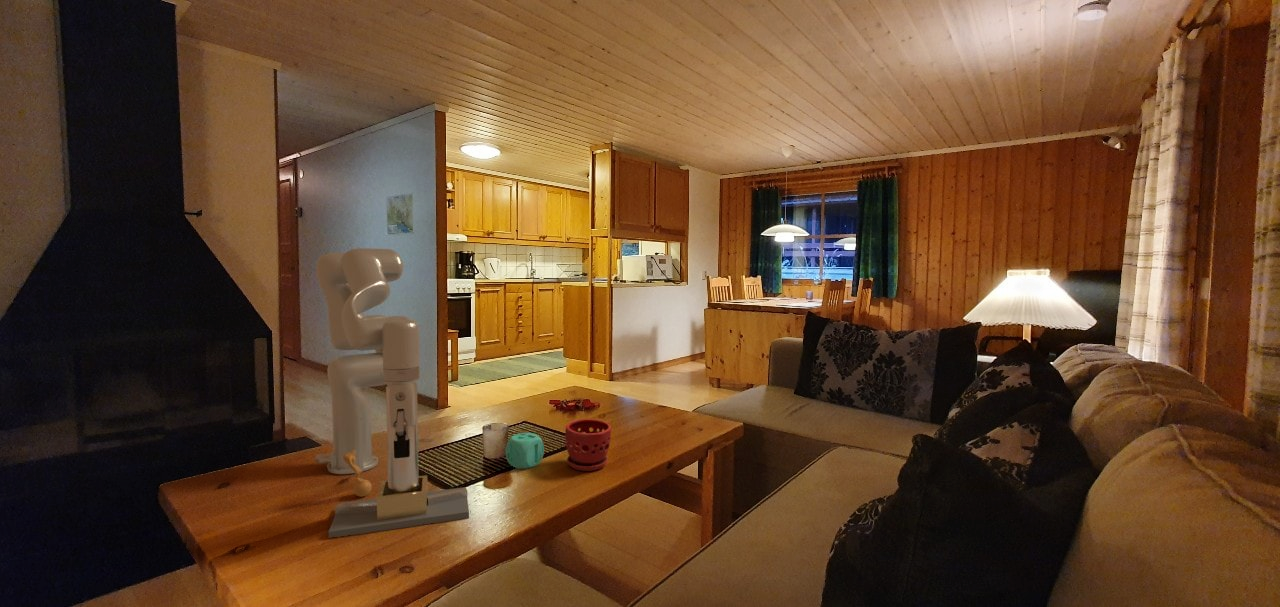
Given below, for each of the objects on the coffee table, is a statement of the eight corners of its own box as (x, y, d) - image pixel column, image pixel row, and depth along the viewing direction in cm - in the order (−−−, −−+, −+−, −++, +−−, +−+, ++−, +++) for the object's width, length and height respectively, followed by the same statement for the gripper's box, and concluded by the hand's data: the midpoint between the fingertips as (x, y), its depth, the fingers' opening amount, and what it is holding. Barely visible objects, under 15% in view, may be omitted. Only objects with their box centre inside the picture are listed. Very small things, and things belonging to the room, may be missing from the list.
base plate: (328, 538, 111) (328, 531, 111) (340, 509, 124) (340, 503, 124) (468, 518, 121) (468, 511, 121) (466, 492, 134) (465, 487, 134)
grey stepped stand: (329, 527, 112) (329, 504, 112) (338, 506, 122) (337, 485, 121) (468, 507, 122) (468, 486, 122) (466, 490, 132) (466, 470, 131)
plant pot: (556, 470, 150) (556, 428, 149) (579, 454, 162) (579, 416, 161) (598, 477, 145) (598, 435, 144) (617, 461, 157) (618, 421, 156)
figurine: (374, 500, 129) (373, 452, 128) (346, 506, 125) (345, 456, 124) (369, 487, 136) (368, 442, 135) (342, 493, 132) (341, 446, 131)
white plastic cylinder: (407, 495, 118) (405, 384, 116) (381, 492, 119) (379, 383, 117) (424, 483, 124) (423, 378, 122) (400, 480, 125) (398, 376, 124)
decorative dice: (526, 471, 148) (526, 443, 148) (504, 465, 152) (504, 438, 152) (544, 462, 155) (544, 435, 155) (523, 456, 159) (523, 430, 159)
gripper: (418, 381, 113) (419, 464, 114) (420, 366, 129) (421, 439, 130) (379, 383, 110) (380, 468, 112) (386, 368, 126) (388, 442, 128)
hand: (402, 451), depth 121 cm, fingers closed on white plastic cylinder, 5 cm apart
